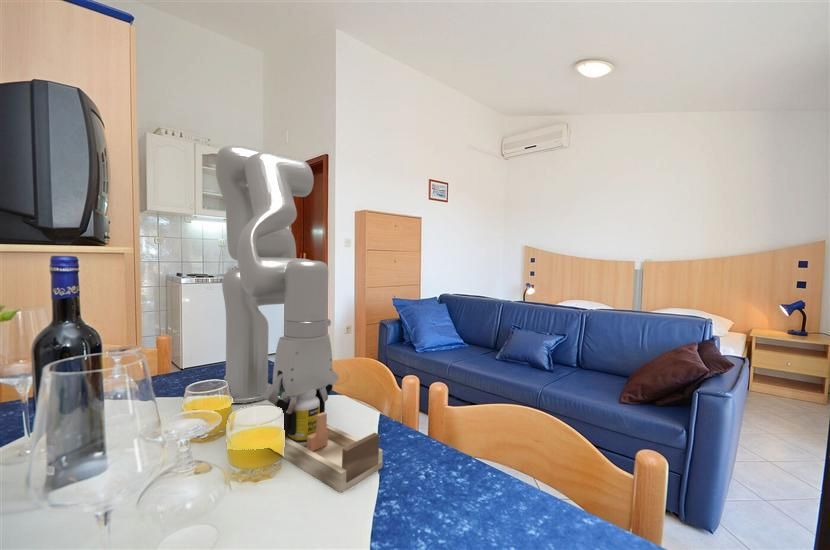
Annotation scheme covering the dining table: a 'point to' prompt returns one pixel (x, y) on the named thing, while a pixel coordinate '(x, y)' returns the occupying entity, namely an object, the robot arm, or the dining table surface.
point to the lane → (338, 458)
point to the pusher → (318, 433)
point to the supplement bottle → (305, 416)
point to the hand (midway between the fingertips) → (303, 425)
